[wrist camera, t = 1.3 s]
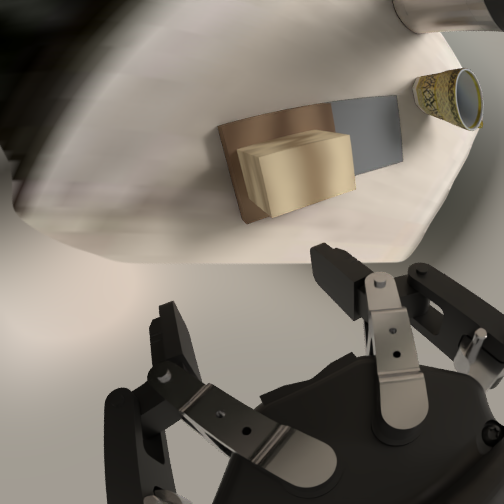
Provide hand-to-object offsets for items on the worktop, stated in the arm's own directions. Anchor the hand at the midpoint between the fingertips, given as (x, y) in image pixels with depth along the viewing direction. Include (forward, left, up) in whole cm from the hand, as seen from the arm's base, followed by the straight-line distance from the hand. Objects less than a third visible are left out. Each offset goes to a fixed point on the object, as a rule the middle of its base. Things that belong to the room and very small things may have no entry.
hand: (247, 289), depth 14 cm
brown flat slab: (-12, 0, -22) cm, 25 cm away
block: (-11, 0, -20) cm, 23 cm away
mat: (-26, 0, -22) cm, 34 cm away
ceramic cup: (-42, -5, -22) cm, 48 cm away
